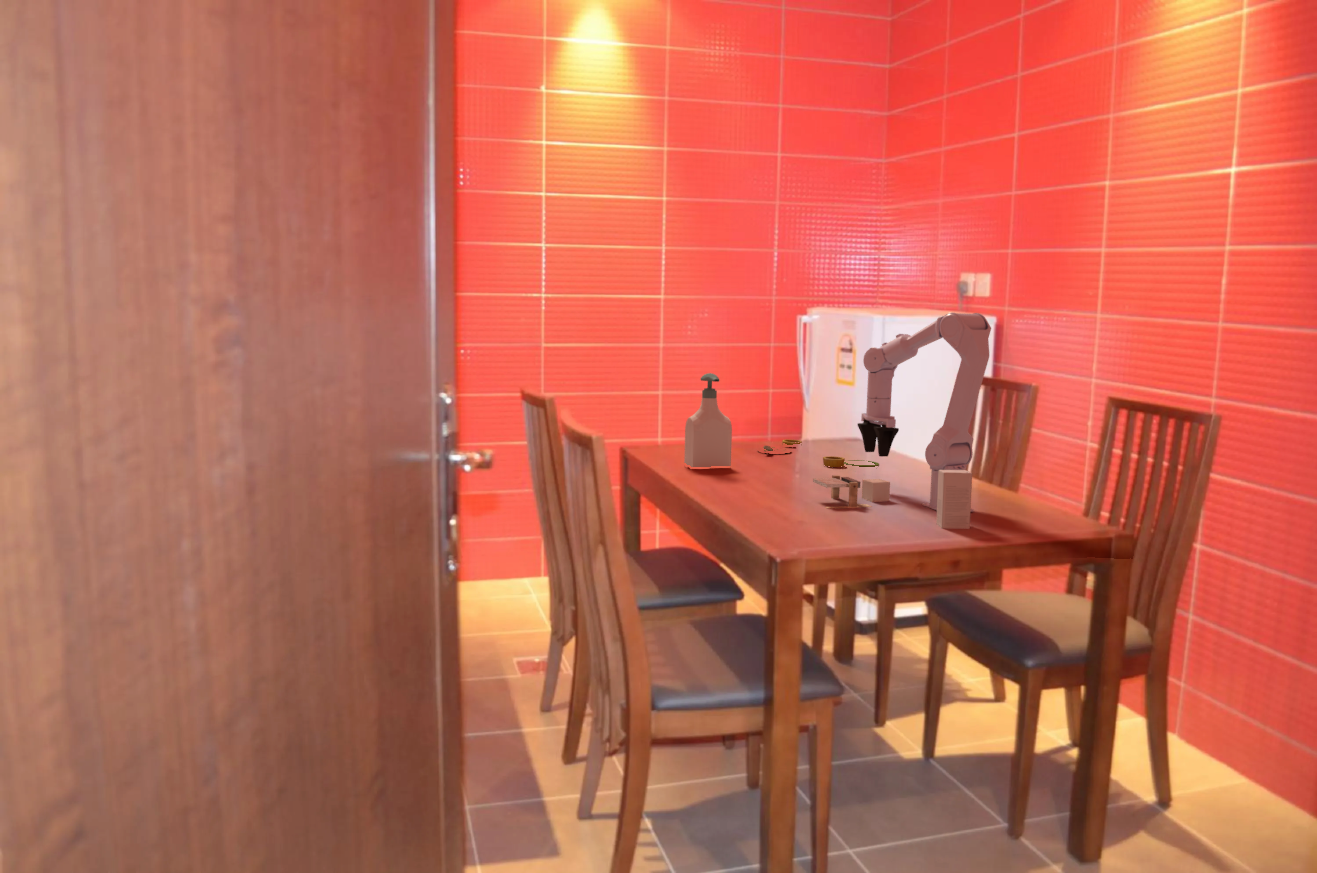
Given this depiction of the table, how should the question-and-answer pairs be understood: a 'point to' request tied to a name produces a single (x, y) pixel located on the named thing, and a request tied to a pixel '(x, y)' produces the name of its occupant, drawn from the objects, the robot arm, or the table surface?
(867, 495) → the beige block
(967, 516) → the skincare box
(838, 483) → the trapdoor
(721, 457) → the soap bottle
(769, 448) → the tableware set
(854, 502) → the frame
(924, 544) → the table surface
